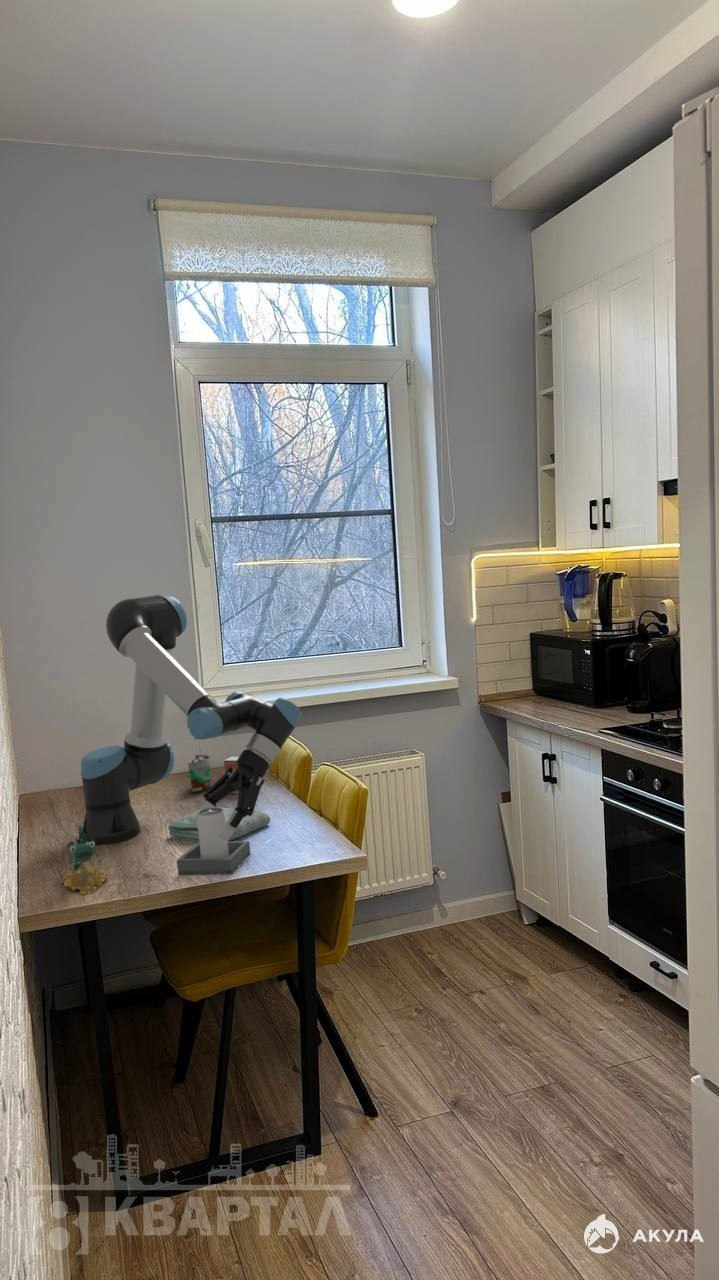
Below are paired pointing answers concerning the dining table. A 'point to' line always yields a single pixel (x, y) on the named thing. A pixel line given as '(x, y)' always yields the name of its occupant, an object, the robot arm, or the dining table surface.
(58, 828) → the dining table surface
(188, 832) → the towel
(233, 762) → the small box
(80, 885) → the frog figurine
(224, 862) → the tray
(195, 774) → the food container
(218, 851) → the can
